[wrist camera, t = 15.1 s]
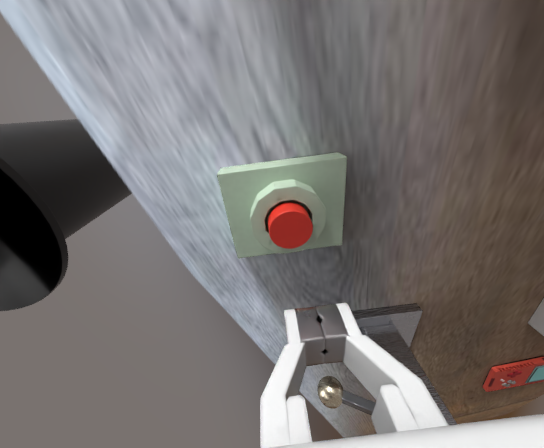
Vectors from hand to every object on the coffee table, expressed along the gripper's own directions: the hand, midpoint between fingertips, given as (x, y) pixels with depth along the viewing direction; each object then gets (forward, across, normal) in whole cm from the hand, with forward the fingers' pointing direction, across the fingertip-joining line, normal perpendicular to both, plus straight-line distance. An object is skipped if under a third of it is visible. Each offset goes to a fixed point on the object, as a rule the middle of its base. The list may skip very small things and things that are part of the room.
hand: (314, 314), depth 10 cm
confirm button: (+10, 0, 0) cm, 10 cm away
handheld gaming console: (+14, -46, +43) cm, 65 cm away
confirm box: (+13, 0, 0) cm, 13 cm away
